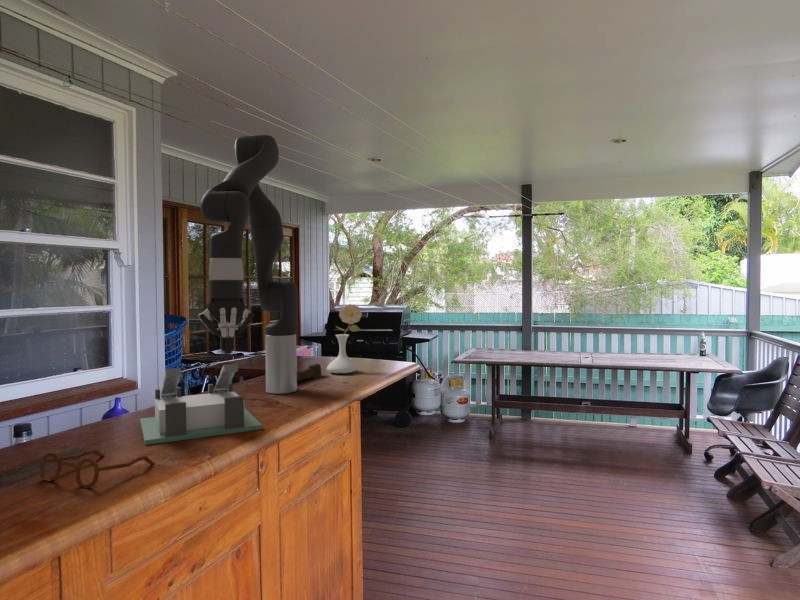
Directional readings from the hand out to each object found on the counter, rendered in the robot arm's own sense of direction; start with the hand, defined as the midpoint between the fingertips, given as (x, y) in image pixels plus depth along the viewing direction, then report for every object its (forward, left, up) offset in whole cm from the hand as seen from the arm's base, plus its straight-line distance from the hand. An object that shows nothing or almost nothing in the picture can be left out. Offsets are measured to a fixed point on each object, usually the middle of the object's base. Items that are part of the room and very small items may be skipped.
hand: (227, 353), depth 124 cm
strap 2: (-3, 0, -8) cm, 8 cm away
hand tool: (-46, +33, -17) cm, 59 cm away
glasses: (+20, -26, -18) cm, 37 cm away
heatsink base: (-3, -6, -17) cm, 18 cm away
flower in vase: (-52, +51, -17) cm, 74 cm away
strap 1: (-3, -12, -8) cm, 14 cm away
